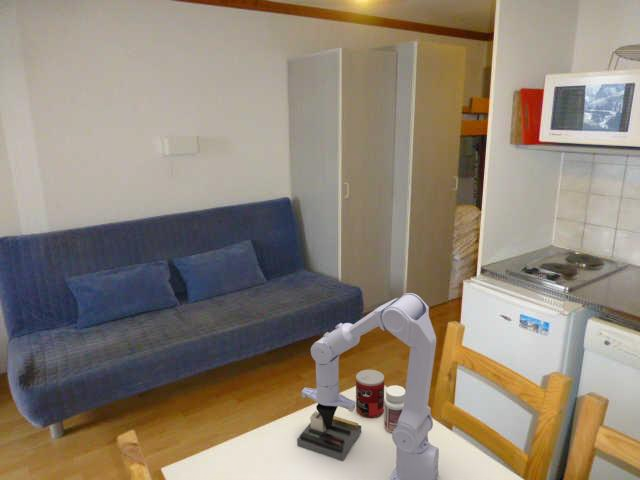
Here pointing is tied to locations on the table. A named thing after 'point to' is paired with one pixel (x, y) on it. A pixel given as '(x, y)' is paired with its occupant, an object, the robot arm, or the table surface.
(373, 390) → the canned food
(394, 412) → the pill bottle
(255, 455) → the table surface
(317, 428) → the block
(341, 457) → the breaker panel
